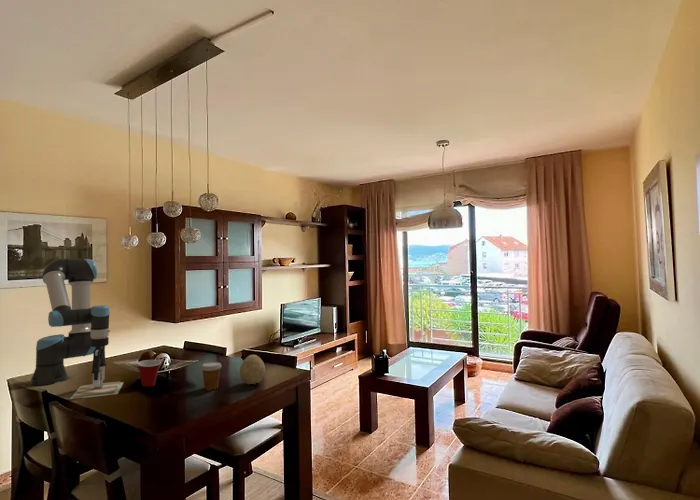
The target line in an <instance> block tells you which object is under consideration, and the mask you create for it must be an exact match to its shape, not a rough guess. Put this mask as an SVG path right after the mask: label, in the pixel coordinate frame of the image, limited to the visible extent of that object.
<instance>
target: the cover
mask: <svg viewBox="0 0 700 500" xmlns="http://www.w3.org/2000/svg"><path fill="white" fill-rule="evenodd" d="M99 371H100V386H99V387H93V383H91V384H83V385H81V386H82V387H81V386H80V387H81V388H80V389H79V388H78V389H79V391H78V392H77V393H76V394H75V395H74V398H76V397H85V396H94V395H103V394H112V393H115V392H116V390H117V388H118V386H119V384H120V383H121V381H120V380H119V381H110V382H104V380H103V368H101V369H100V370H99ZM112 395H113V394H112ZM103 396H104V395H103ZM94 397H95V396H94ZM85 398H86V397H85ZM76 399H77V398H76Z"/></svg>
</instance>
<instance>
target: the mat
mask: <svg viewBox="0 0 700 500" xmlns="http://www.w3.org/2000/svg"><path fill="white" fill-rule="evenodd" d="M123 385H124V381H123V382H122V381H120V384H119V386H118V388H117V390H116V392H115V393H112V394H103V395H94V396H85V397H76V398H74V395H75V394H76V393H77V392H78V391H79V389H80V388H81V387H82V386H83V385H81V386H79V387H78V388H77V390H76V391H75V392H73V394H72V396H71V397H70V398H69V400H74V399H75V400H76V399H82V398H83V399H84V398H85V399H86V398H93V397H101V396H111V395H118V394H119V392H120V390H121V388H122V387H123Z"/></svg>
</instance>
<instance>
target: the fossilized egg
mask: <svg viewBox="0 0 700 500" xmlns="http://www.w3.org/2000/svg"><path fill="white" fill-rule="evenodd" d="M265 374H266V366H265V363H264V361H263V360H262V358H261V357H260V356H259V355H257V354H249V355H247V357H245V358H244V359H243V361H242V363H241V365H240V368H239V375H240V378H241V380H242V382H243V383H245V384H247V385H249V384H254V385H257V384H259V383H260V382H262V380H263V379H264V377H265ZM256 383H257V384H256Z"/></svg>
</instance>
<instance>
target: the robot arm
mask: <svg viewBox="0 0 700 500" xmlns="http://www.w3.org/2000/svg"><path fill="white" fill-rule="evenodd" d="M41 278H42V279H41V280H42V282H43V283H44V284H45V285H46V289H47V294H48V299H49V303H50V307H51V311H50V312H48V315H47V316H48V317H47V318H48V319H47V320H48V322H47V323H48V326H49V327H51V328H52V327H53V328H58V327H68V326H71V330H70V331H69V332H68V333H67V335H68V336H65V335H64V334H63V333H61V334H60V333H59V334H54V335H53V334H52V335H48V336H44V337H41V338H39V339H37V341H36V345H35V370H34V372H33V374H32V376H31V380H30V384H31V383H32V384H36V385H35V386H46V385H45V384H48V385H53V384H56V383H59V382H64V381H66V380H68V372H67V370H66V367H65V364H64V363H65V362H64V360H66V359H67V360H68V359H73V358H79V357H80V358H81V357H86V356H91V355H92V356H93V358H92V370H91V371H90V375H91V374H92V384H93V387H99V386H100V371H99V370H100V369H101V368H103V381H104V380H105V367H107V363H106V346H108V345H109V335H110V334H109V333H110V332H111V330H110V306H109V305H104V304H103V305H100V304H99V305H93V306H92V307H91V285H92V284H93V283H94V280H96V279H97V278H98V269H97V265H96V263H95V261H94V260H93V259H91V258H57V259H54V260H53V261H51V262H50V263H48V264H47V265H46V266H45V267H44V269H43V270H42V275H41ZM65 281H67V282H68V285H70V286H71V303H70V299H69V294H68V291H67V287H66V283H65ZM32 384H31V385H32Z"/></svg>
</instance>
